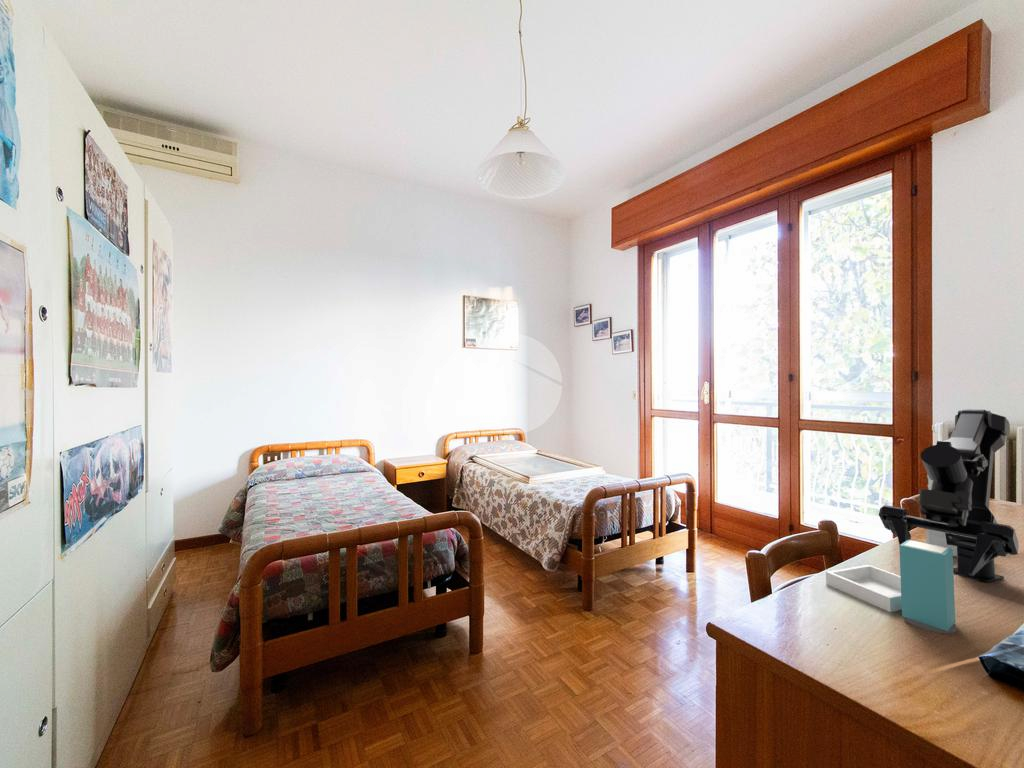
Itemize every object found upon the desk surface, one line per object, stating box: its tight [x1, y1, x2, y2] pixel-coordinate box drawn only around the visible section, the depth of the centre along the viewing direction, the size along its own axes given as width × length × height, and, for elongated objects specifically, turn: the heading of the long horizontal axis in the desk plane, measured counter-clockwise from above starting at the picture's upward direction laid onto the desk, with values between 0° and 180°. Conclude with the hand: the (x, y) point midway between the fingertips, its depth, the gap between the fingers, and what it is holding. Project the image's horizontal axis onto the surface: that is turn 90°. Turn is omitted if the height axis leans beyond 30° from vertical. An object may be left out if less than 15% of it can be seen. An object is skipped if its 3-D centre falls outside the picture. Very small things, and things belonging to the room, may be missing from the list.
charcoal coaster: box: [902, 616, 957, 635], centre depth 78 cm, size 7×7×1 cm
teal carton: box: [899, 539, 956, 631], centre depth 78 cm, size 5×6×13 cm
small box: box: [925, 529, 957, 558], centre depth 112 cm, size 8×6×13 cm
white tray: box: [825, 564, 902, 613], centre depth 89 cm, size 13×13×3 cm
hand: (935, 566), depth 81 cm, fingers open, 9 cm apart
